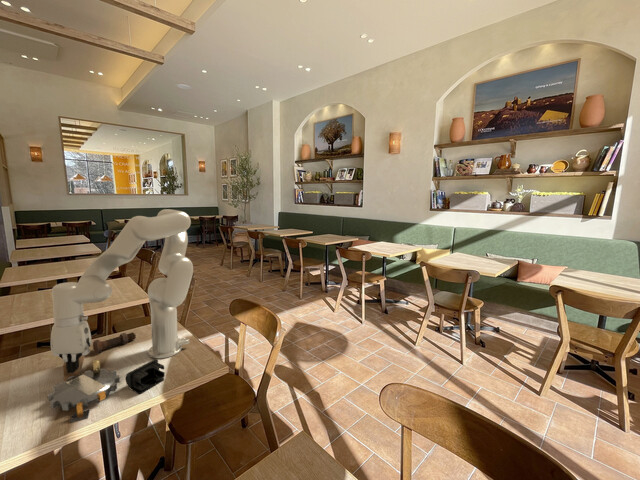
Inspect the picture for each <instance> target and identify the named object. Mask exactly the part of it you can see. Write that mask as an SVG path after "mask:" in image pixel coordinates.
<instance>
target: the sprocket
mask: <svg viewBox="0 0 640 480" xmlns="http://www.w3.org/2000/svg"><path fill="white" fill-rule="evenodd" d="M120 378H121V377H120V375H119V374H118V375H117V370H115V369H112V370H110V371H109V370H107V368H101V360H100V359H94V360H92V370H90V369H88V370H85V371H84V372H83V373H80V375H77V376H71V377H68V380H67V381H63V382H62V383H57V384H56V385H54V386H53V387H54V388H53V390H54V391H52V392H49V393H48V396H47V398H48V402H49V403H50V408H52V409H55V408H58V407H59V408H61V410H62V411H69V410H70V409H72V408H77V403H81V402H82V403H83V408H86V407H89V406H88V405H90V404H92V403H94V402H97V401H99V402H101V401H103V400H105V399H106V397H107V395H108V394H109V393H111V392H115V391H116V390H117V389H118V385H117V384H120V382H121V381H120Z"/></svg>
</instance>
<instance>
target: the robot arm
mask: <svg viewBox="0 0 640 480" xmlns="http://www.w3.org/2000/svg"><path fill="white" fill-rule="evenodd" d="M191 224H192V221H191V217H190V215H189V214H187V212H185V211H182V210H178V209H169V208H168V209H167V208H164V209H162V210H160V211H159V212H158V213H157V215H156V216H152V217H151V216H150V217H149V216H143V215H135V216H133V217H131V218H130V219H129V220H128V221H127V222H126V224H125V226H124V227H123V228H122V229H121V231H120V232H119V233H118V235H117V236H116V237H115V239H114V240H113V242H112V243H111V245H110V246H109V247H108V248H107V249H106V250H105V251H104V252H102V253H101V254H100V255H99V256H98V257H97V258H96V259H94V260H93V261H92V262H91V263H90V264H89V266H88V267H87V268H86V270H85V271H84V272H83V274H82V275H81V277H80V278H79V280H78V281H77V282H76V281H69V282H62V283H61V282H60V283H57V284H55V285H54V286H53V287H52V289H51V298H52V299H51V300H52V311H53V313H52V314H53V323H54V324H53V325H52V328H51V330H50V331H51V334H50V350H51V351H50V352H51V353H52V356H53V357H58V358H61V359H62V360H63V361H62V362H63V363H64V362H66V369H67V373H74V372H75V371H76V370H77V369H78V368H79V358H80V357H81V356H84V357H85V356H87V355H89V354H90V353H91V348H90V347H92V346H93V341H92V334H91V330H90V325H89V323H88V321H87V320H88V318H89V317H88V315H85V313H84V304H95V303H102V302H105V301H106V300H108V299H109V298H110V297H111V296H112V293H113V288H112V286H111V284H109V283H108V282H107V279H108V278H109V276H110V275H111V274H112V273H113V272H114V271H115V269H118V267H121V266H123V265H125V264H127V263H130V262H132V261H133V260H134V258H135V257H136V255H137V254H138V253H139V251H140V250H141V248H142V247H143V245H144V244H145V243H146V241H147V242H151V241H157V240H162V239H165V240H164V244H163V247H162V252H161V255H160V259H159V261H158V265H157V266H158V270H159V272H160V273H161V274H163V275H165V276H166V277H158V278H155V279H154V280H152V281H151V283H149V285H148V288H147V297H148V302H149V307H150V325H151V328H150V329H151V344H152V345H151V347H150V348H149V349H148V351H147V352H148V356H149V357H150V358H153V359H166V358H170V357H173V356H175V355H177V354H179V353H180V352H181V350H182V349H183V345H188V344H189V345H190V338H186V337H182V338H180V337H179V335H178V316H177V315H178V312H177V311H178V310H177V307H179V306H181V305H182V303H184V301H185V300H186V297H187V294H188V291H189V288H190V284H191V282H192V279H193V274H194V265H193V262H192V261H191V259H190V258H188V257H187V256H186V253H187V249H188V242H189V237H188V232H187V230H188V229H189V228H190V227H191Z"/></svg>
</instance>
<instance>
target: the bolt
mask: <svg viewBox="0 0 640 480" xmlns="http://www.w3.org/2000/svg"><path fill="white" fill-rule="evenodd" d="M135 339H137V335H136V332H134V331H133V332H130V333H125V332H123V333H120V335H119V336H117V337H113V338H108V339H107V340H102V341H100V339H95V340H93V341H92V349H93V352H94V353H95V354H96V355H99V354H102V351H103V350H106V349H108V348H111V347H114V346H117V345H124V346H125V345H128V343H129V342H130V341H134V340H135Z"/></svg>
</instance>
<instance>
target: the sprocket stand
mask: <svg viewBox="0 0 640 480" xmlns="http://www.w3.org/2000/svg"><path fill="white" fill-rule="evenodd" d="M89 415H90V409H86V410H84V407H83V403H82V402H81V403H77V407H76V413H72V415H71V419H70V423H74V422H79V421H82V420H86V419H88V418H89V417H90V416H89Z"/></svg>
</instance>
